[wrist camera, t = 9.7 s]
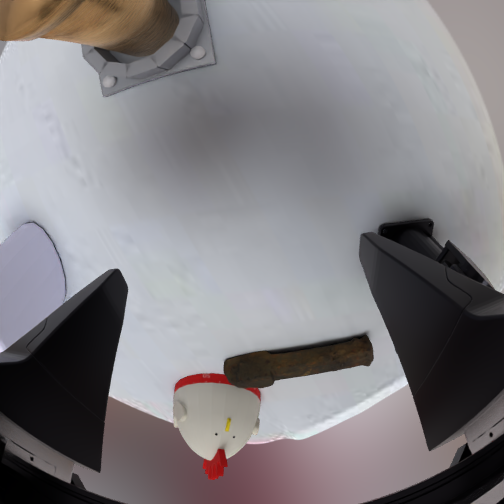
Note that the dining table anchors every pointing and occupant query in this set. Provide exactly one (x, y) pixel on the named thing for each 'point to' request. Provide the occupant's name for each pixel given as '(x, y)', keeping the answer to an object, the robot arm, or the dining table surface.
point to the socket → (158, 52)
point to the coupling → (92, 23)
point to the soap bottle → (28, 282)
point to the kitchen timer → (215, 418)
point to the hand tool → (296, 363)
